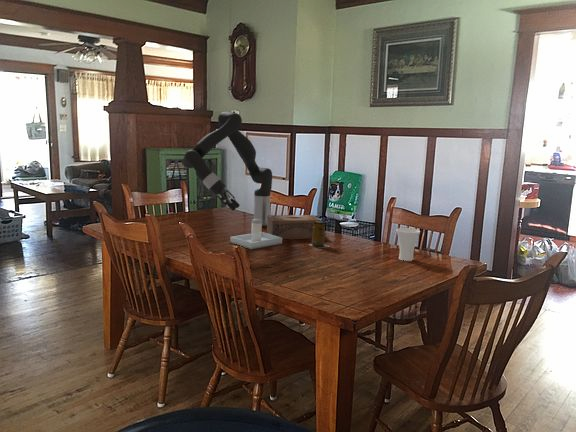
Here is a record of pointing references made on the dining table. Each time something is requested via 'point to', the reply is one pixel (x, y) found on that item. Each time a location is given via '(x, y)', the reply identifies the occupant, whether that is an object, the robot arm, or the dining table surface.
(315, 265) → the dining table surface
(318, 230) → the condiment
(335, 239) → the dining table surface
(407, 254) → the cup
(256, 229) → the cylinder
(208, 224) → the dining table surface
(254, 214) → the robot arm
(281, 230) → the tissue box cover
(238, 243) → the tray
